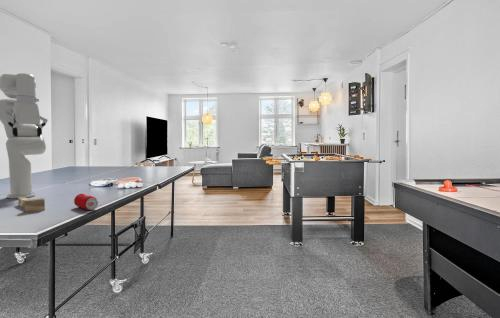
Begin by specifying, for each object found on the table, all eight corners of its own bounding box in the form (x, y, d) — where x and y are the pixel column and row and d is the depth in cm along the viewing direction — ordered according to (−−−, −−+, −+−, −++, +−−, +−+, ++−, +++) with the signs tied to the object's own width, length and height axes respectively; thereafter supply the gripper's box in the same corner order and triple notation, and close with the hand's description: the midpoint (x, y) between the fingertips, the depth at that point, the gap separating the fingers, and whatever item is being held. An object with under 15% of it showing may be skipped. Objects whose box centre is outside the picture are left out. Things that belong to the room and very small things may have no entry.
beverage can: (87, 204, 158) (99, 209, 150) (74, 208, 153) (85, 212, 145) (86, 192, 157) (98, 195, 149) (72, 194, 152) (84, 198, 144)
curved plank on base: (13, 206, 155) (12, 195, 155) (30, 203, 161) (29, 193, 160) (26, 213, 142) (26, 201, 142) (44, 210, 148) (44, 199, 147)
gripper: (43, 102, 167) (45, 136, 168) (1, 99, 154) (3, 136, 155) (49, 101, 162) (50, 136, 164) (6, 98, 149) (8, 136, 151)
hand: (27, 136), depth 159 cm, fingers open, 9 cm apart
